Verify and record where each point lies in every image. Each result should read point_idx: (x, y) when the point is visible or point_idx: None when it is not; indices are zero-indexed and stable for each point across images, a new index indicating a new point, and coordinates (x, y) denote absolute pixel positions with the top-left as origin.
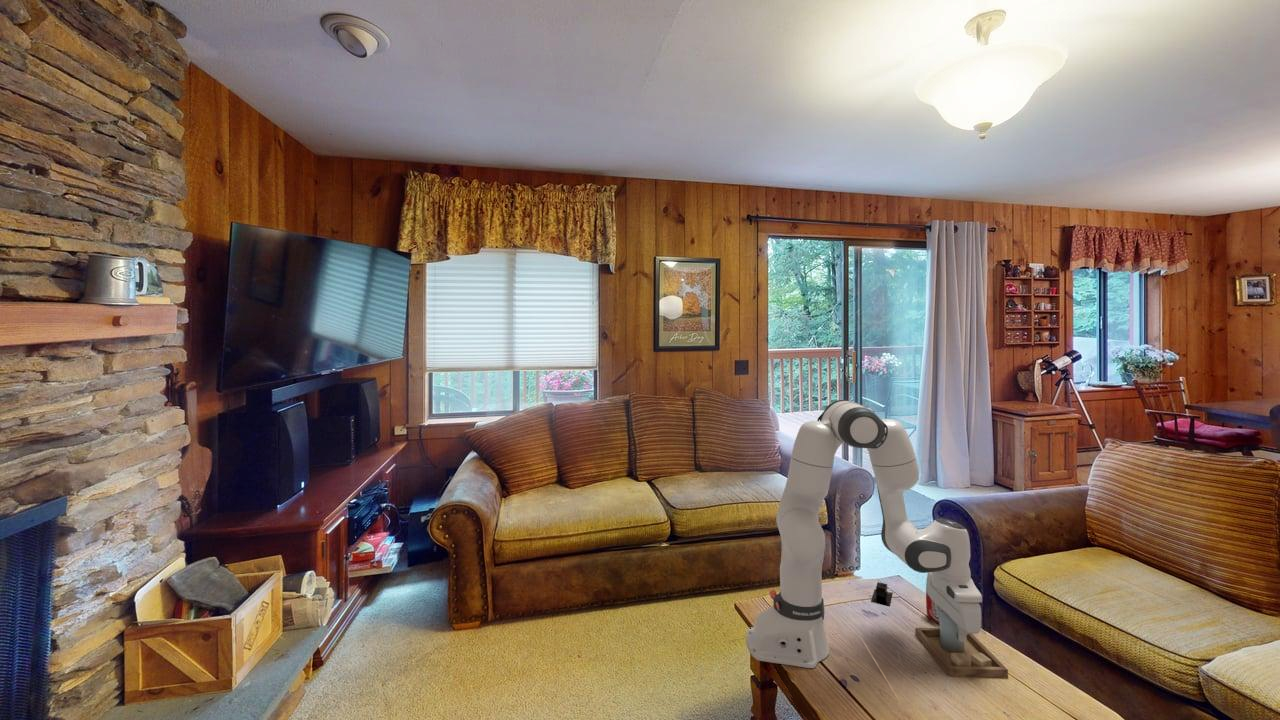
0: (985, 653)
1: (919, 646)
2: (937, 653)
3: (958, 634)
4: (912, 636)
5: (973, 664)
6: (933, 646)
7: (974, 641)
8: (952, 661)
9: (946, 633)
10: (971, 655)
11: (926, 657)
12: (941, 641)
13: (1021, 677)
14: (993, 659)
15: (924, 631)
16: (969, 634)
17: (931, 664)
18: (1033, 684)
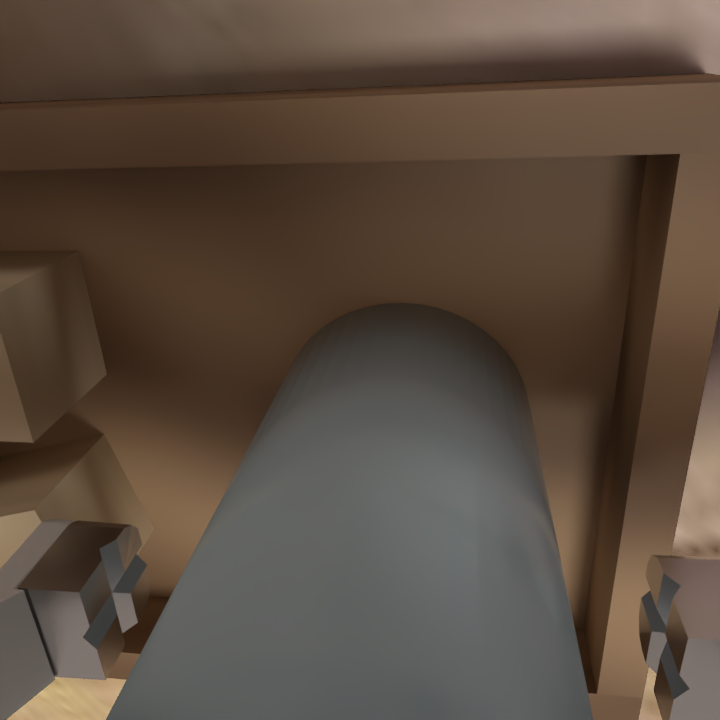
0: None
1: (454, 21)
2: (52, 127)
3: (5, 585)
4: (716, 21)
5: (63, 457)
6: (222, 151)
7: None
8: (20, 266)
9: (267, 448)
10: (35, 504)
11: (207, 11)
12: (383, 333)
13: (91, 685)
14: None
15: (665, 212)
16: None
17: (70, 13)
18: (33, 702)
